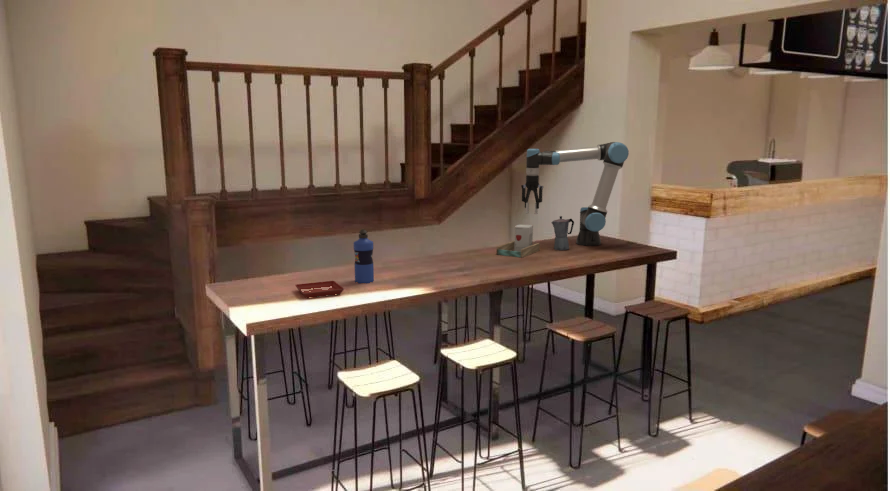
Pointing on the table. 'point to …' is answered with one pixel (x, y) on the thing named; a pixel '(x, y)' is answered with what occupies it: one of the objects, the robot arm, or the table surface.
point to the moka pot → (561, 233)
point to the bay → (524, 252)
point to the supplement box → (523, 236)
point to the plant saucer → (319, 292)
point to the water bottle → (363, 259)
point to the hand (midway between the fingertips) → (531, 213)
